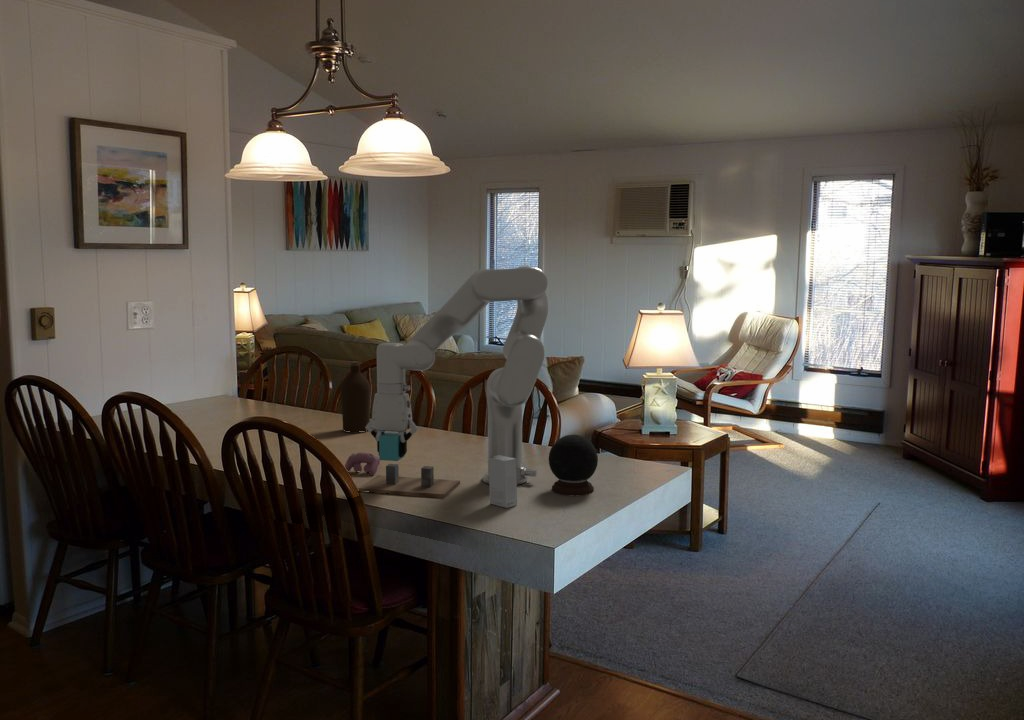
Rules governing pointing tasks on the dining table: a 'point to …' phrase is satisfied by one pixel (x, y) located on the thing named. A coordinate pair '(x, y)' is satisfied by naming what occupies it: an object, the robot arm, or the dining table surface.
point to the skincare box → (502, 481)
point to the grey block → (392, 474)
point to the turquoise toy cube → (389, 446)
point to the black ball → (573, 465)
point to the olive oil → (355, 400)
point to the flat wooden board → (413, 485)
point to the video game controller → (360, 458)
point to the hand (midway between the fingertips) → (392, 454)
